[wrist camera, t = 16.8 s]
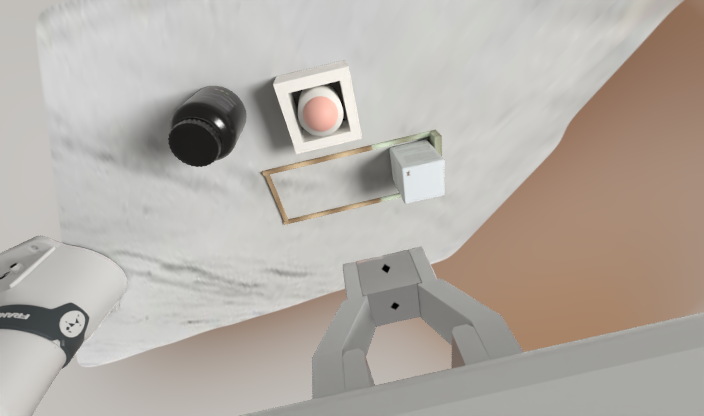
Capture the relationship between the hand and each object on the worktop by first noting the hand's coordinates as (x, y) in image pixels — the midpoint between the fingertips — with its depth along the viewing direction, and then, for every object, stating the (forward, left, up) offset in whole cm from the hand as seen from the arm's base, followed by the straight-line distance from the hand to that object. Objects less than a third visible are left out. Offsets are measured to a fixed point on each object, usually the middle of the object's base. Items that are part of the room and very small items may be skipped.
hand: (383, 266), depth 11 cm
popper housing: (-2, -3, -34) cm, 34 cm away
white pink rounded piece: (-2, -3, -34) cm, 34 cm away
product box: (+9, -15, -35) cm, 39 cm away
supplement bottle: (-15, -1, -35) cm, 38 cm away
